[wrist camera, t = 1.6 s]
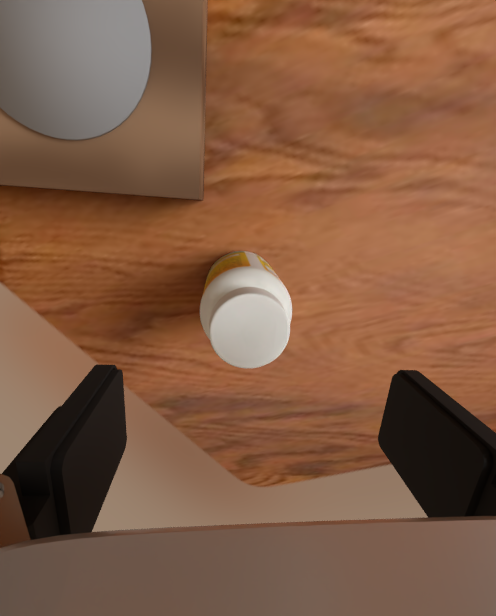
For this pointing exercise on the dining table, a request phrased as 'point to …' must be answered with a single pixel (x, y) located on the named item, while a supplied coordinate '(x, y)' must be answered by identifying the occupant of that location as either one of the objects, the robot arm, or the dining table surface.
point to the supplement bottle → (245, 310)
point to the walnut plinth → (104, 96)
